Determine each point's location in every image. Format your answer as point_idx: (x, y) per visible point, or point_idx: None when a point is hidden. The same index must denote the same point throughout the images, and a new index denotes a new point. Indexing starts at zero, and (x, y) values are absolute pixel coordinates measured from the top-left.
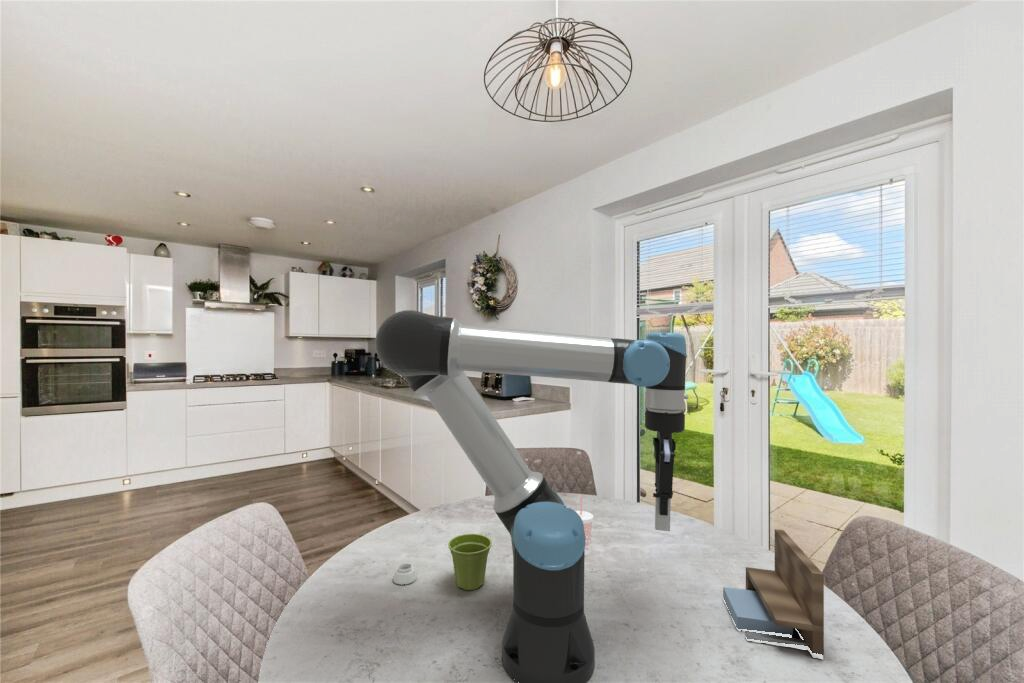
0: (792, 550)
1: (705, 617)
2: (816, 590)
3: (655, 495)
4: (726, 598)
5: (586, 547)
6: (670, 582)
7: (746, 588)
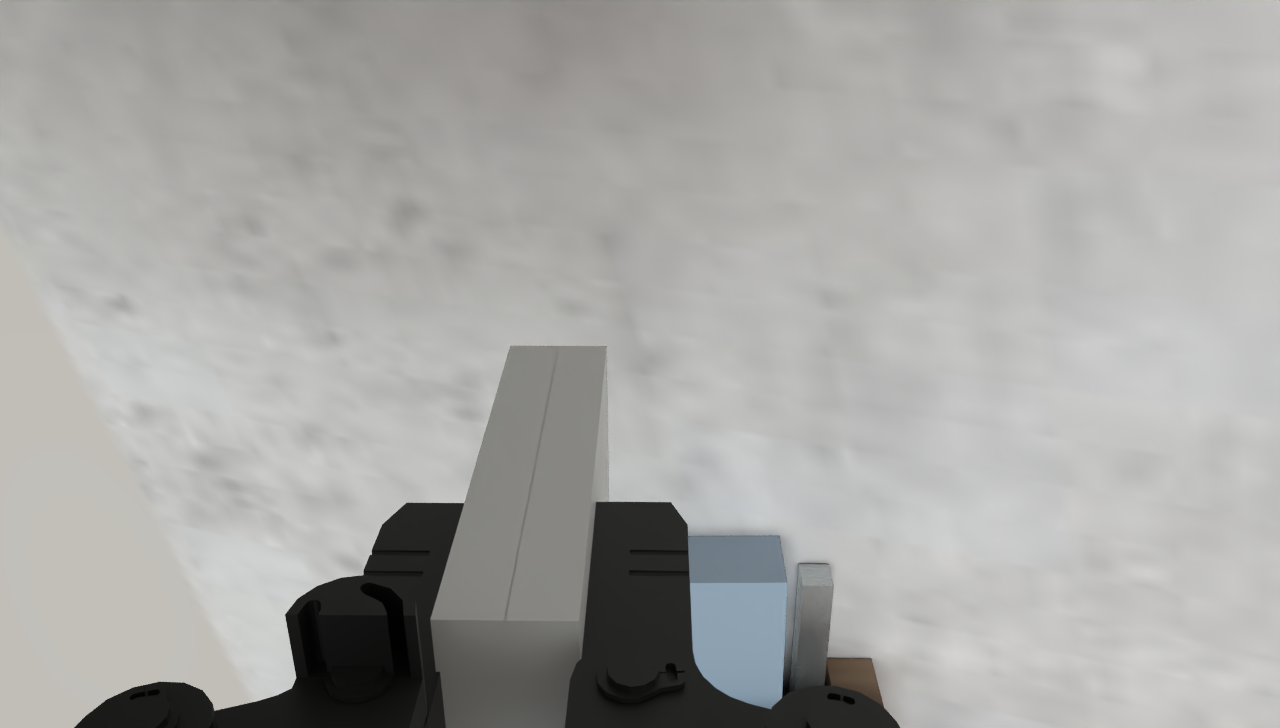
0: None
1: None
2: None
3: (297, 638)
4: (702, 566)
5: None
6: (936, 262)
7: (862, 685)
